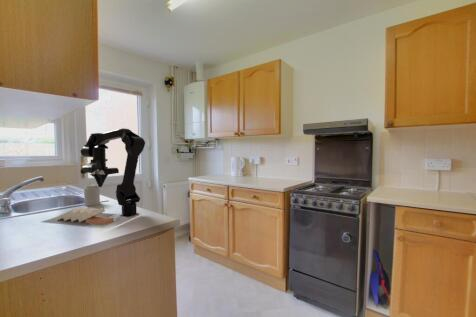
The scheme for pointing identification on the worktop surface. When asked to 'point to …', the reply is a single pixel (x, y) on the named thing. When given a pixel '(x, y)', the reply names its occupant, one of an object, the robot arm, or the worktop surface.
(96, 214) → the domino
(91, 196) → the can
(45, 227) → the worktop surface
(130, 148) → the robot arm
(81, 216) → the domino
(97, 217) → the terracotta domino
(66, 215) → the domino
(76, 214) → the cream flat block
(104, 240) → the worktop surface
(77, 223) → the mat
